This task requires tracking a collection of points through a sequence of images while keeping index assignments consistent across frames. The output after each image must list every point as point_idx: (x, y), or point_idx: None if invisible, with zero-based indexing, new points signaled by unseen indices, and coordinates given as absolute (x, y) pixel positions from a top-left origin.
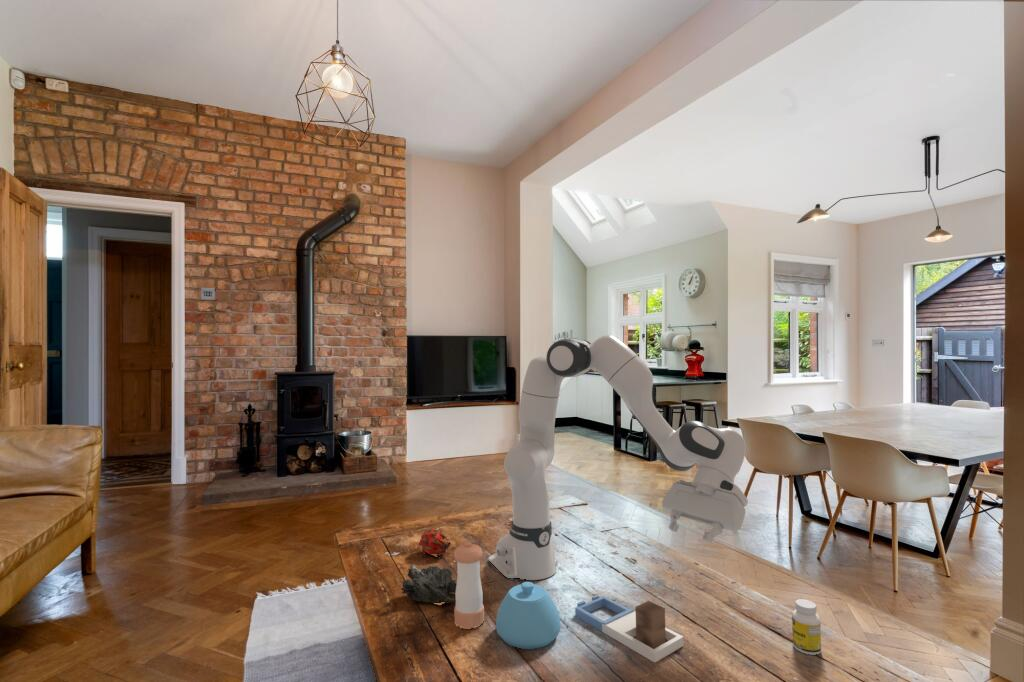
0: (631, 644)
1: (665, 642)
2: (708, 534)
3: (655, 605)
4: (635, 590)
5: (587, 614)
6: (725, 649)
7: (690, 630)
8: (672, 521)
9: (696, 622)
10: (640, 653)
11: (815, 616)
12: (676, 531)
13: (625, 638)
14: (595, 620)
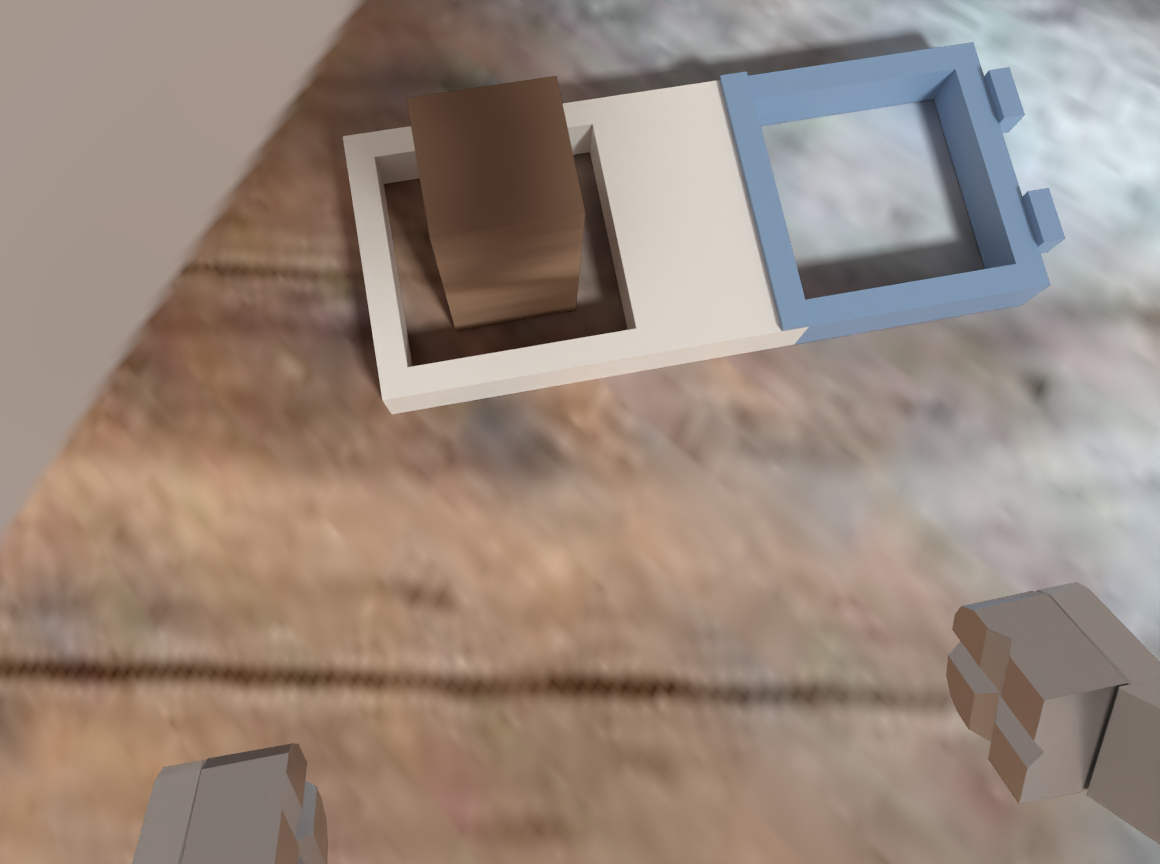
0: None
1: (454, 325)
2: (166, 836)
3: (500, 209)
4: None
5: (869, 59)
6: (231, 614)
7: (499, 580)
8: (1137, 675)
9: (554, 694)
10: None
11: None
12: (950, 687)
13: None
14: (797, 73)
